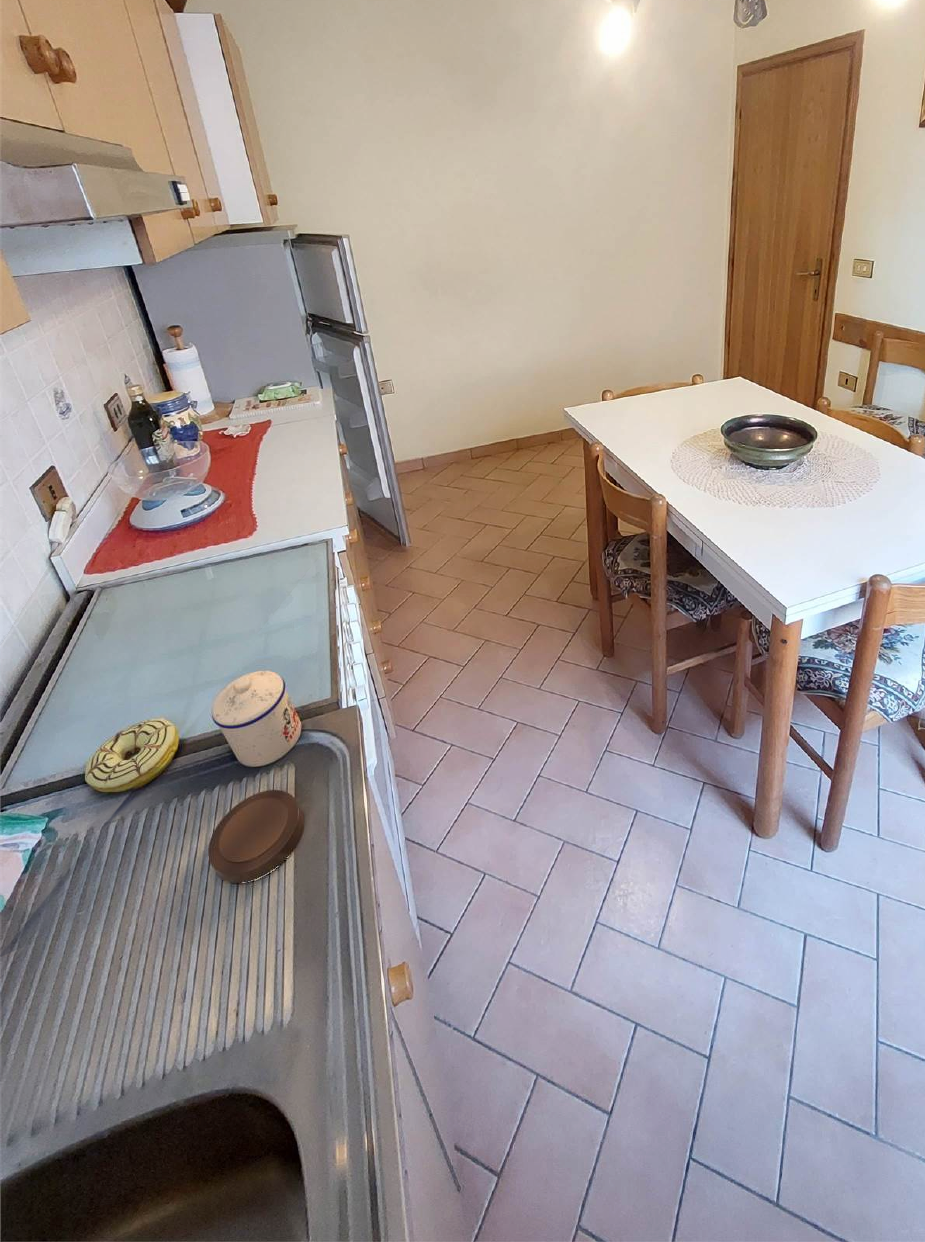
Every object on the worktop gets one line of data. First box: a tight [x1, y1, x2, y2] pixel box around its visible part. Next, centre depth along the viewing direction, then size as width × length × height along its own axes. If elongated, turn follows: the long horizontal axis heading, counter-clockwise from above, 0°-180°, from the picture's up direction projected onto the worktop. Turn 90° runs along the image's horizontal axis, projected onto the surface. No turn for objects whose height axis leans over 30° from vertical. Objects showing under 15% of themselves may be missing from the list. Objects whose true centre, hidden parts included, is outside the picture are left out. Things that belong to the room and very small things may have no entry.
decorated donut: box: [84, 717, 180, 793], centre depth 85 cm, size 10×11×4 cm
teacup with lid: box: [211, 670, 302, 768], centre depth 85 cm, size 12×9×12 cm
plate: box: [207, 789, 305, 883], centre depth 74 cm, size 10×10×2 cm
